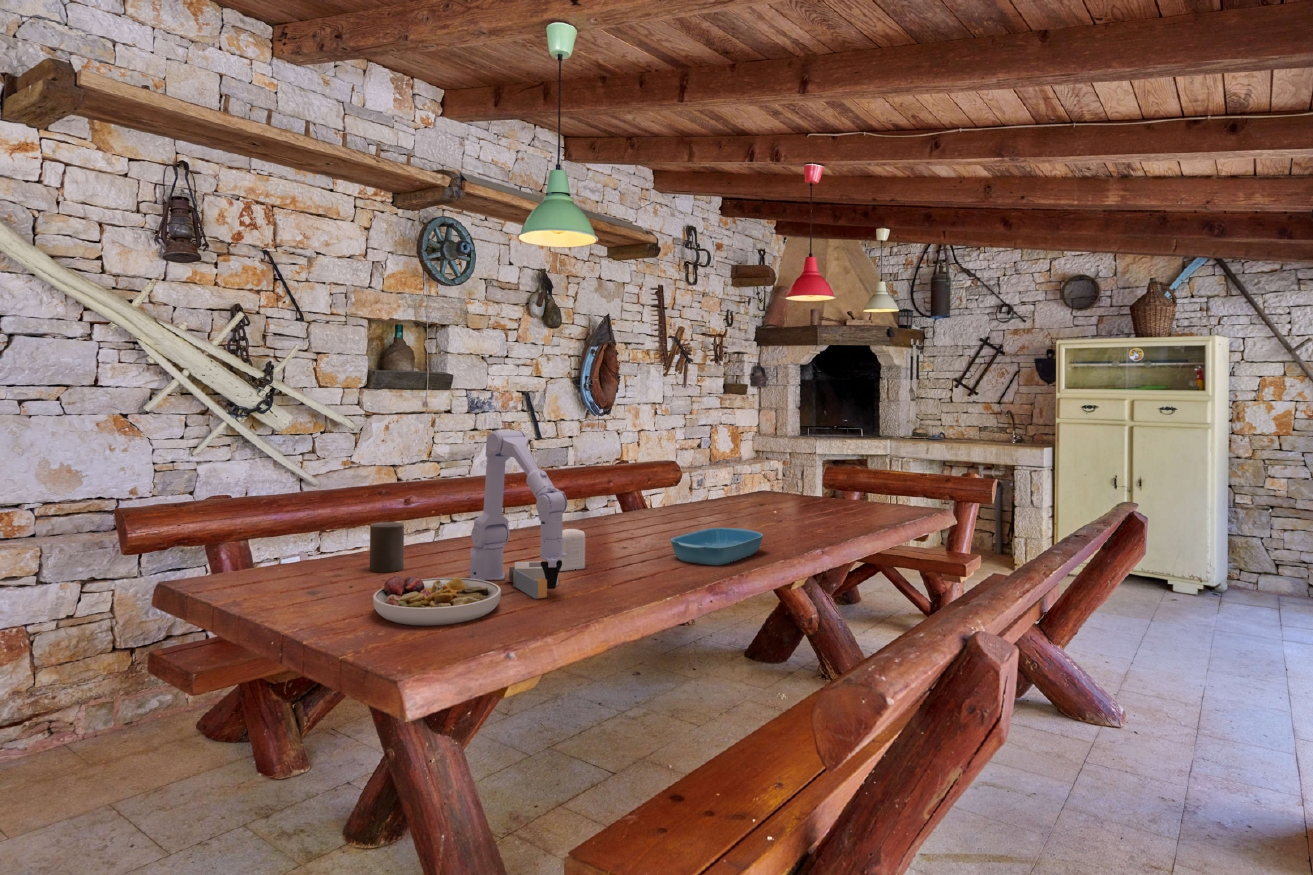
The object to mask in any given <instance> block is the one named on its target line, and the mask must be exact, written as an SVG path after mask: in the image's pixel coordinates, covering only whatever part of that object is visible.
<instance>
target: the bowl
mask: <svg viewBox="0 0 1313 875" xmlns="http://www.w3.org/2000/svg"><path fill="white" fill-rule="evenodd" d="M383 585H384V586H383V587H382V588H380V589H378V590H377V591H376V592H375V593H374V594H373V595H372V601H373V607H374V609H375V610H376V612H377V614H378V615H379V616H381V617H382V618H384V619H385V620H387V621H389V622H393V623H396V624H401V625H408V626H425V627H426V626H444V625H453V624H460V623H464V622H469V621H472V620H473V621H474V620H477V619H479V618H481V617H483V616H486V615H487V614H490V613H491V612H492V611H493V610H494V609H495V608H496V607H497V606H498V605H499V602H500V600H501V596H502V589H501V587H500V586H499V585H498V584H497V583H493V582H491V581H489V580H478V579H470V578H466V577H464V578H463V577H459V576H455V577H436V578H433V577H432V578H423V579H421V578H419V576H416V575H410V576H407V577H406V578H405V579H404V578H403V577H401V576H396V575H394V576H391V577H390V578H388V579H387V580H386V581H385V582H384V584H383Z"/></svg>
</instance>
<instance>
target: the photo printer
mask: <svg viewBox="0 0 1313 875" xmlns="http://www.w3.org/2000/svg"><path fill="white" fill-rule="evenodd" d="M562 553H566V554H567V557H563V558H561V559H560V560H561V561H562V566H561V568H560V571H559V572H566V571H575V569H576V570H584V569H585V568H586V533H585V532H584V531H583V530H581V529H577V528H566V529H562Z"/></svg>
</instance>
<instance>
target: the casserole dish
mask: <svg viewBox="0 0 1313 875" xmlns="http://www.w3.org/2000/svg"><path fill="white" fill-rule="evenodd" d="M763 538H764V534H763V533H762V532H759V531H755V530H752V529H746V528H737V527H735V528H734V527H711V528H710V527H709V528H706V529H705V528H704V529H701V530H698V531H694V532H690V533H686V534H681V535H679V536H675V537H672V538H671V539H670V541H671V546H672V548H673V551H674V554H675V556H676V558H678V559H679V560H680V561H681V562H687V563H693V564H697V565H698V564H700V565H705V566H706V565H707V566H721V565H727V564H730V562H731V563H733V561H734V562H736V561H739V560H743V559H745V558H748V557H750V556H753V555H754V554H755V553H757V552H758V550H759V549H760V546H761V544H762V540H763ZM747 556H748V557H747ZM742 558H743V559H742Z"/></svg>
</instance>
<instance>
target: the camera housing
mask: <svg viewBox="0 0 1313 875" xmlns="http://www.w3.org/2000/svg"><path fill="white" fill-rule="evenodd" d="M542 561H543V560H542ZM542 561H540V560H539V561H514V566H510V567H508V574H509V575H508V581H509V582H513V571H514V570H519V571H521V572H523V573H524V574H526V575H528V576H530V577H532V578H534V579H538V578H544V579H545V574H544V571H543V569H542V567H541V563H540V562H542ZM556 587H559V576H558V577H557V583H556Z"/></svg>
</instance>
